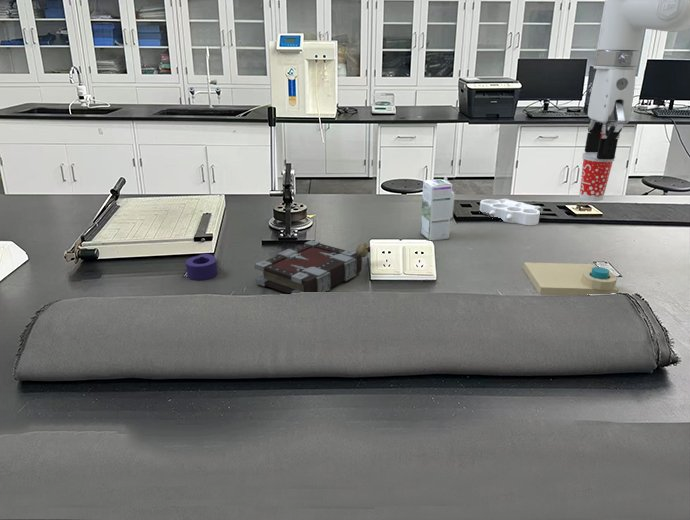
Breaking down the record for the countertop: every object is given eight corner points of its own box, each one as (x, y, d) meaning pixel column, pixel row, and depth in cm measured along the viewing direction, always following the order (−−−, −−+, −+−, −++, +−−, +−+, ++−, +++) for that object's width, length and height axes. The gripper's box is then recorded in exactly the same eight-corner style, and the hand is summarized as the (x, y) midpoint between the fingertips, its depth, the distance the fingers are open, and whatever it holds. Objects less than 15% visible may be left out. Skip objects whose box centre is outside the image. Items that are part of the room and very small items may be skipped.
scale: (592, 271, 117) (595, 256, 116) (618, 298, 104) (621, 282, 103) (523, 269, 118) (525, 254, 116) (540, 296, 105) (543, 280, 104)
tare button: (604, 274, 108) (605, 266, 107) (610, 280, 105) (612, 273, 104) (588, 273, 108) (589, 266, 107) (594, 280, 105) (595, 272, 104)
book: (255, 284, 109) (253, 261, 108) (329, 250, 128) (329, 230, 126) (309, 304, 101) (308, 280, 99) (380, 264, 120) (381, 243, 118)
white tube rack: (552, 218, 153) (526, 229, 143) (497, 205, 165) (470, 214, 155) (554, 206, 151) (528, 217, 142) (498, 194, 163) (471, 203, 154)
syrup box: (449, 239, 136) (454, 183, 130) (428, 241, 134) (432, 185, 129) (439, 232, 141) (443, 178, 135) (419, 234, 139) (422, 179, 134)
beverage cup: (572, 193, 114) (584, 126, 109) (603, 195, 113) (616, 128, 108) (577, 200, 109) (590, 131, 103) (610, 202, 107) (624, 132, 102)
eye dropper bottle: (448, 221, 149) (452, 179, 144) (430, 218, 152) (433, 177, 147) (454, 217, 152) (458, 176, 148) (436, 214, 155) (439, 174, 151)
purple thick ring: (216, 279, 112) (215, 265, 111) (185, 281, 111) (183, 267, 110) (220, 258, 123) (218, 245, 122) (192, 259, 122) (190, 246, 121)
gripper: (658, 62, 92) (636, 165, 99) (618, 59, 108) (601, 148, 115) (613, 62, 93) (595, 164, 100) (580, 59, 109) (566, 147, 116)
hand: (598, 154), depth 107 cm, fingers closed on beverage cup, 6 cm apart
